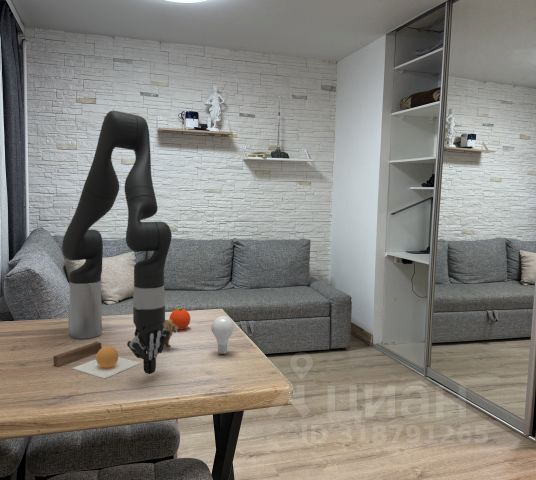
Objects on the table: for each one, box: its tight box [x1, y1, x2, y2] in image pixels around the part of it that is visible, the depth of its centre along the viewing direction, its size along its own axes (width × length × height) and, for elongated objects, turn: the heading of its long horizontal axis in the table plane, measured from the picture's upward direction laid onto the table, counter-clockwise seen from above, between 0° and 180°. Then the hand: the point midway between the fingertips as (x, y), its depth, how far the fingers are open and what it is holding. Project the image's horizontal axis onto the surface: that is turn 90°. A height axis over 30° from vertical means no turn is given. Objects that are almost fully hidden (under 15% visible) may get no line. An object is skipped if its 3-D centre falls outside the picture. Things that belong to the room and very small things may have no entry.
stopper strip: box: [53, 341, 103, 368], centre depth 129 cm, size 2×14×2 cm, turn 150°
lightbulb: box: [211, 315, 235, 355], centre depth 135 cm, size 6×6×11 cm
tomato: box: [168, 307, 191, 331], centre depth 158 cm, size 8×7×7 cm
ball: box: [95, 345, 119, 368], centre depth 123 cm, size 6×6×6 cm
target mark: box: [71, 356, 141, 380], centre depth 124 cm, size 12×12×1 cm
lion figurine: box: [159, 319, 179, 349], centre depth 142 cm, size 15×5×9 cm, turn 35°
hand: (149, 372), depth 117 cm, fingers closed
